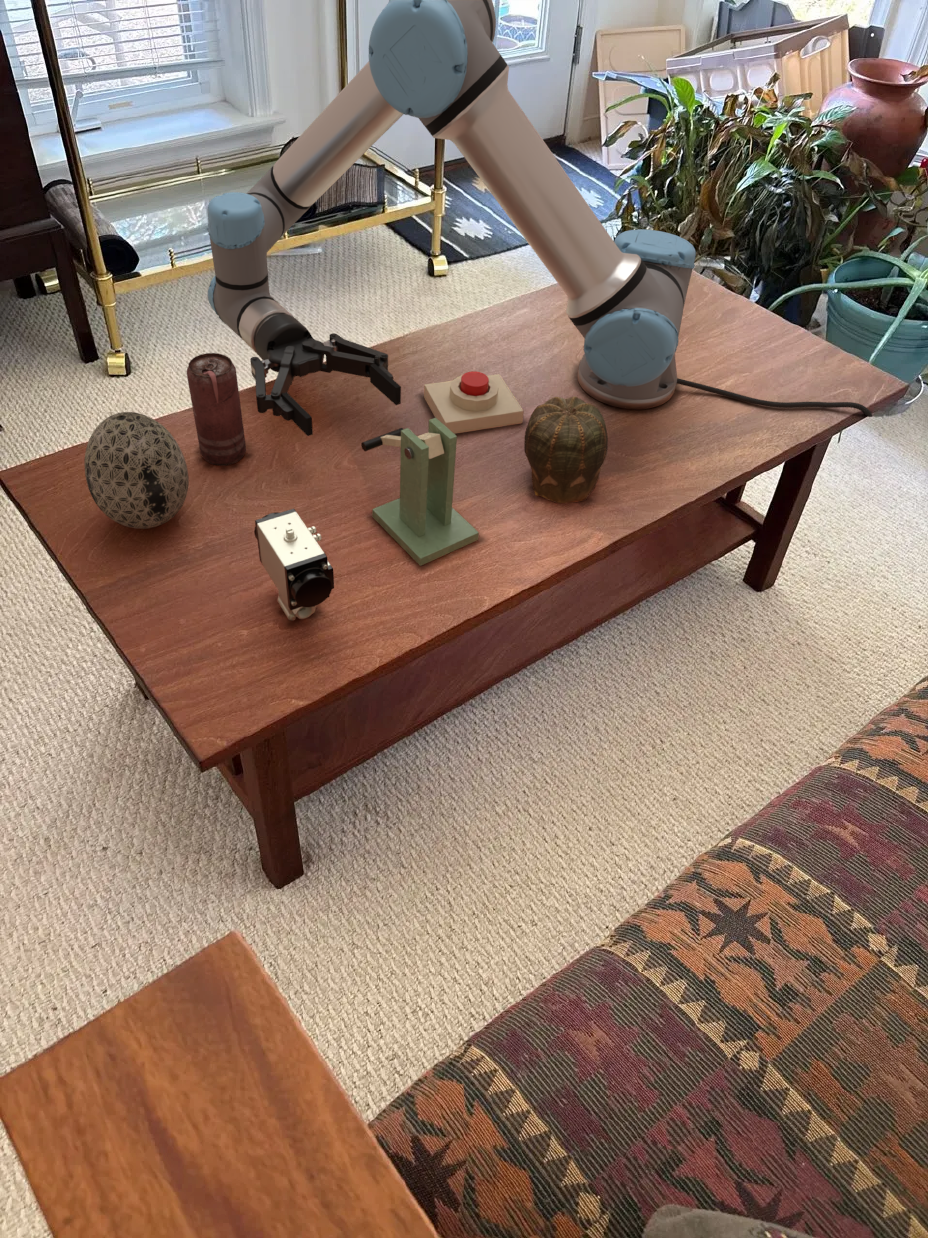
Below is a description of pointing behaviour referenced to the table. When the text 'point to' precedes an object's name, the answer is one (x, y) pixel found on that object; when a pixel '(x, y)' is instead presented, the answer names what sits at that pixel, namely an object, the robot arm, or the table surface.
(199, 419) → the can
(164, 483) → the decorative egg
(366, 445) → the lever
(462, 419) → the control box
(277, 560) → the pneumatic valve
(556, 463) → the dark green ribbed dome
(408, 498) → the bracket
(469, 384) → the button
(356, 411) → the table surface
